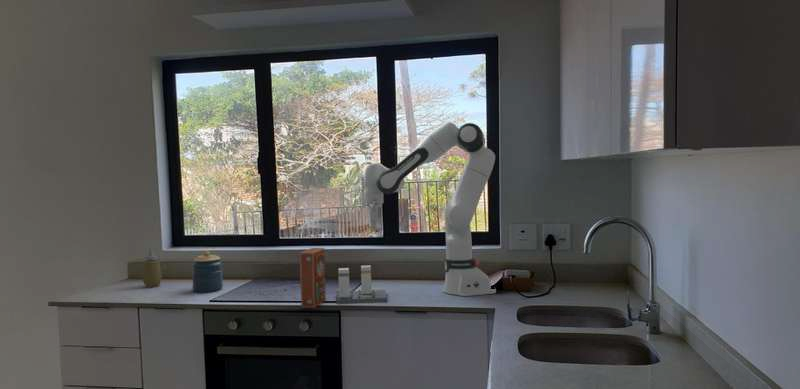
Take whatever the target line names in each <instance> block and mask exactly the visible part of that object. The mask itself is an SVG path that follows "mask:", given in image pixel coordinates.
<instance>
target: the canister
mask: <svg viewBox="0 0 800 389" xmlns="http://www.w3.org/2000/svg"><path fill="white" fill-rule="evenodd" d="M220 259H221V257H220V256H218V255H216V254H211V253H210V251H208V250H206V251H204V252H203V255H198V256H196V257H195V258H194V259H193V262H194V263H192V264H191V267H192V272H191V273H192V292H195V293H212V292H216V291H217V292H218V291H220V290H222V289H223V288H224V283H223V268H222V264H223V262H222V261H221V260H220Z"/></svg>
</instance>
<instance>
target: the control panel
mask: <svg viewBox="0 0 800 389" xmlns="http://www.w3.org/2000/svg"><path fill="white" fill-rule="evenodd" d="M325 257H326V256H325V248H324V247H311V248H308V249H306V250H303V251H300V253H299V279H300V296H301V297H300V298H301V299H300V301H301V304H300V305H301V309H315V308H317V307H318V306H319V305H321V304H322V303H323V302H325V301H326V300H327V299H326V297H327V296H326V258H325Z"/></svg>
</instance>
